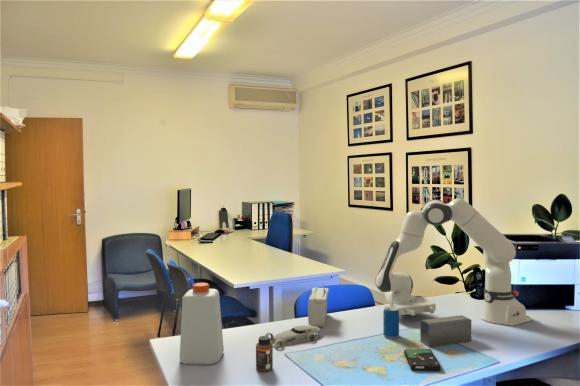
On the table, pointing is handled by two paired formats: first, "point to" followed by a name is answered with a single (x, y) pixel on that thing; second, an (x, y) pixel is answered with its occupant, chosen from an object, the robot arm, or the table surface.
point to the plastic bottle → (201, 326)
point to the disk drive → (422, 360)
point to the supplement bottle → (264, 354)
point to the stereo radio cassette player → (317, 307)
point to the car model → (294, 336)
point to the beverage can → (391, 322)
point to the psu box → (445, 331)
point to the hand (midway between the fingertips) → (423, 312)
